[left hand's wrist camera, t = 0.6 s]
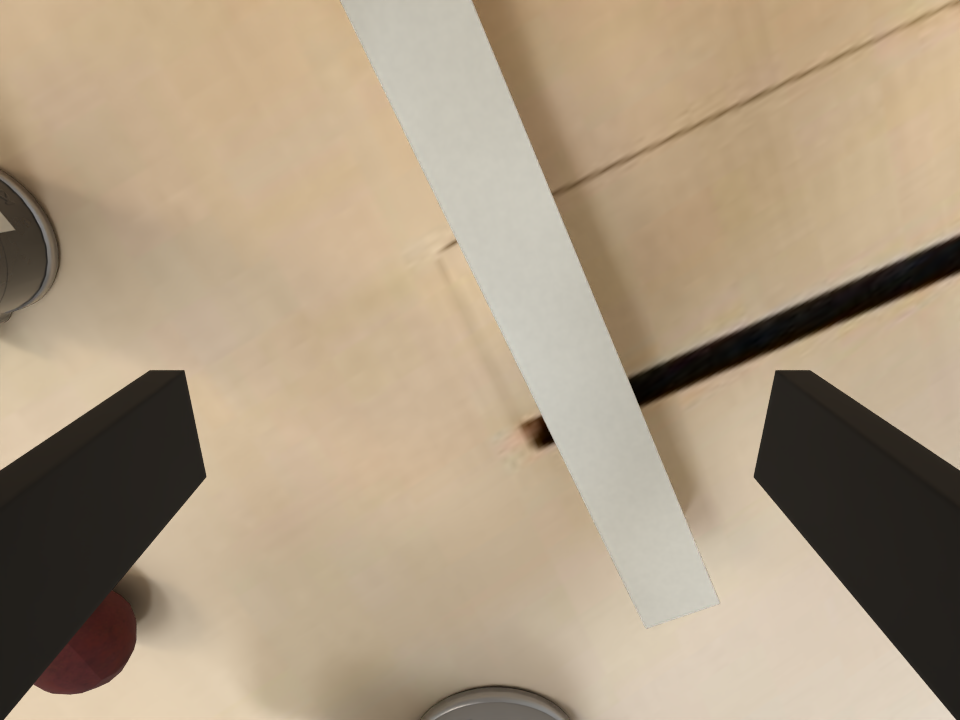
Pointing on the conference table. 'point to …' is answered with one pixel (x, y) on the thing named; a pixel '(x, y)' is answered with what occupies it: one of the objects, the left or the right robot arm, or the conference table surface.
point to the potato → (94, 650)
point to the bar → (534, 286)
